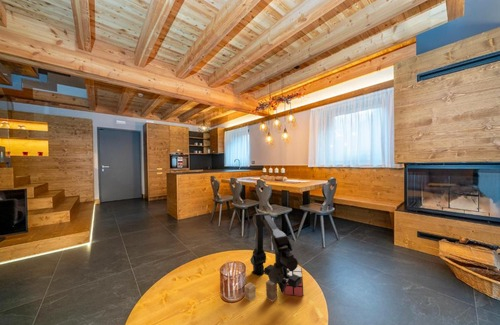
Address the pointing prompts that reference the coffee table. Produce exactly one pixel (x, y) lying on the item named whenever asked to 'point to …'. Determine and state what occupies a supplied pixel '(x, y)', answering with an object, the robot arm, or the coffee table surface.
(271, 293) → the walnut block
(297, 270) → the puzzle cube
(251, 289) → the oak block
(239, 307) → the coffee table surface
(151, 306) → the coffee table surface
